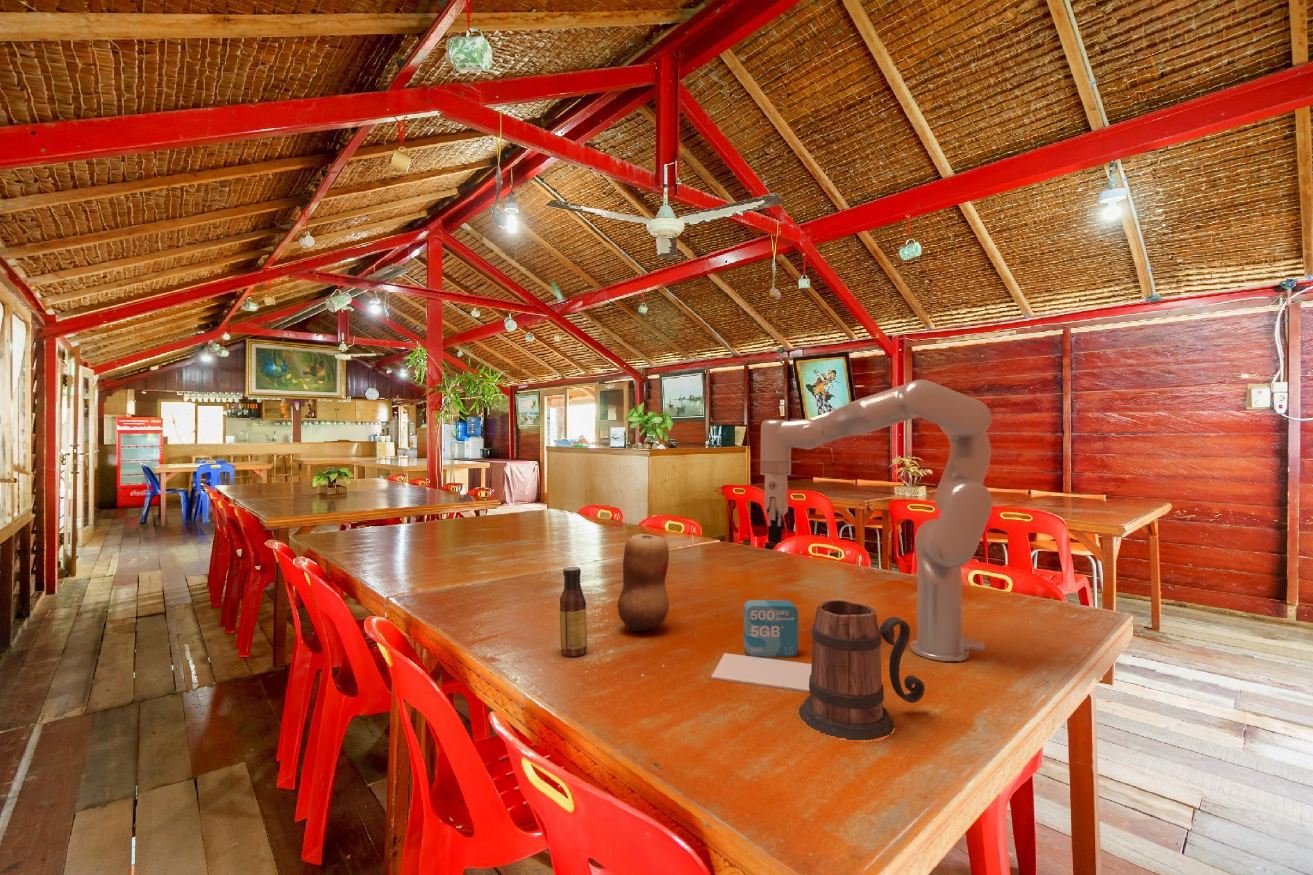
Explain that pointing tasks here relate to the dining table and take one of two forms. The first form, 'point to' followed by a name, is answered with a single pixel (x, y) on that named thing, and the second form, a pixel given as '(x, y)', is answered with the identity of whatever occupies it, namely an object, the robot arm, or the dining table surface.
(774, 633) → the data package
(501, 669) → the dining table surface
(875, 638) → the tankard
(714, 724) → the dining table surface
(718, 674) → the mat
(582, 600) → the sauce bottle
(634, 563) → the butternut squash
